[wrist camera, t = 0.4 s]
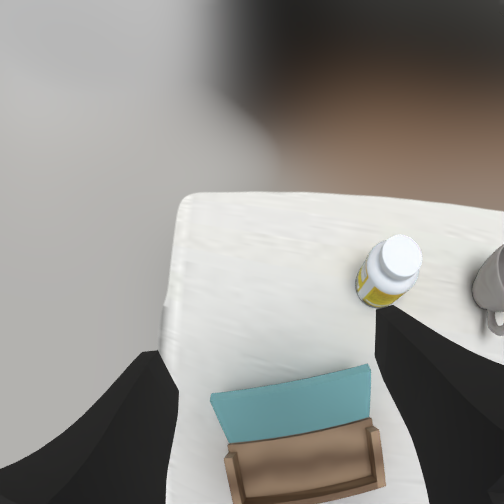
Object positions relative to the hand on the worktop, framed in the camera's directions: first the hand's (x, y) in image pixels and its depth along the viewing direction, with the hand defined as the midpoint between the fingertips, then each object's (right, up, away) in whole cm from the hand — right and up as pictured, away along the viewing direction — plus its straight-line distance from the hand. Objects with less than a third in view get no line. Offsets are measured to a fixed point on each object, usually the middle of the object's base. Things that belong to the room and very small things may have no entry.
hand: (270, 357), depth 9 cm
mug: (+34, -4, +27) cm, 44 cm away
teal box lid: (+5, -18, +23) cm, 29 cm away
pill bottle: (+16, -1, +30) cm, 34 cm away
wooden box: (+6, -24, +23) cm, 33 cm away
